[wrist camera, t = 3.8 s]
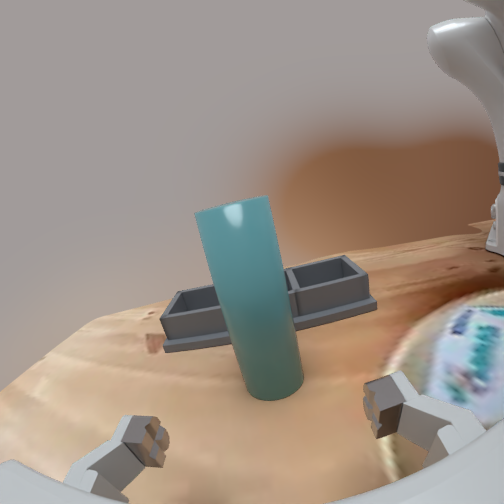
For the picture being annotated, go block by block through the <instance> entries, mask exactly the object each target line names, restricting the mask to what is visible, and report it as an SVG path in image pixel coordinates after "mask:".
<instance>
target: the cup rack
mask: <svg viewBox="0 0 504 504" xmlns="http://www.w3.org/2000/svg"><path fill="white" fill-rule="evenodd" d="M284 274H285V279H286V284H287V289H288V294H289V299H290V304H291V309H292V314H293V320H294V325H295V330H296V331H297V330H302V329H306V328H310V327H314V326H318V325H322V324H326V323H330V322H334V321H338V320H341V319H345V318H349V317H352V316H356V315H359V314H363V313H366V312H369V311H373V310H376V309H377V301H376V300H375V299H374V298H373V297H372V296H371V295H370V294H369V280H368V274H367V273H366V272H365V271H363V270H362V269H361V268H360V267H359V266H357V265H356V264H355V263H354V262H352V261H351V260H350V259H349V258H348V257H346V256H345V255H342V256H338V257H334V258H330V259H326V260H321V261H317V262H313V263H308V264H304V265H300V266H295V267H291V268H286V269H284ZM160 321H161V324H162V326H163V329H164V331H165V334H166V336H167V338H166V340H165V342H164V344H163V348H164V350H165V353H168V352H177V351H185V350H192V349H200V348H207V347H213V346H220V345H226V344H232V343H231V339H230V336H229V333H228V330H227V327H226V324H225V320H224V317H223V314H222V311H221V307H220V304H219V301H218V297H217V294H216V290H215V287H214V284H212V285H208V286H203V287H197V288H192V289H187V290H182V291H178V292H177V293H176V295H175V296H174V298H173V299H172V301H171V302H170V304H169V305H168V307H167V308H166V310H165V311H164V313H163V314H162V316H161V317H160Z"/></svg>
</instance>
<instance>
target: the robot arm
mask: <svg viewBox="0 0 504 504" xmlns="http://www.w3.org/2000/svg"><path fill="white" fill-rule="evenodd" d="M464 1H466V2H468V3H470V4H473V5H475V6H478V7H480V8H483V9H484V10H485V16H484V17H474V18H459V19H450V20H447V21H444V22H441V23H438V24H436V25H433V26H431V27H430V29H429V31H428V35H427V44H428V49H429V51H430V54H431V56H432V58H433V60H434V61H435V63H436V64H437V65H438V67H439V68H440V69H441V70H442V71H443V72H444V73H446V74H447V75H448V76H450V77H452V78H454V79H456V80H457V81H459V82H461V83H462V84H463V85H465V86H466V87H467V88H468V89H469V90H471V91H472V92H473V94H474V95H475V96H476V97H477V98H478V99H479V101H480V102H481V103H482V105H483V107H484V108H485V110H486V112H487V114H488V116H489V119H490V122H491V125H492V128H493V131H494V135H495V139H496V143H497V148H498V153H499V160H500V162H499V163H498V167H499V171H498V173H499V179H500V184H501V191H500V194H499V195H498V196H497V199H495V204H493V206H492V207H491V217H492V218H494V219H495V218H496V221H495V222H493V225H492V227H491V230H490V233H489V236H488V239H487V242H486V247H485V248H486V249H487V250H489V251H492V252H496V253H499V254H501V255H503V256H504V0H464ZM363 391H364V393H365V396H364V398H363V406H364V411H365V414H366V417H367V419H368V420H370V421H372V422H371V429H372V431H373V433H374V435H375V438H376V439H379V438H382V437H385V436H387V435H390V434H393V433H396V432H397V433H398V434H399V435H401V436H403V437H404V438H406V439H408V440H409V441H411V442H413V443H415V444H416V445H418V446H420V447H422V448H423V449H425V450H427V451H429V452H428V455H427V457H426V459H425V461H424V463H423V465H422V466H423V468H424V469H422V470H420V471H418V472H416V473H414V474H411V475H409V476H407V477H405V478H402V479H400V480H398V481H395V482H393V483H390V484H387V485H385V486H382V487H379V488H377V489H374V490H371V491H368V492H365V493H362V494H358V495H355V496H352V497H348V498H344V499H341V500H337V501H333V502H329V503H324V504H504V418H503V419H502V420H500V421H499V422H498V423H497V424H495V425H494V426H493V427H491V428H490V429H489V430H487V431H486V430H485V429H484V427H483V426H482V425H481V423H480V422H479V421H478V419H477V418H476V417H475V415H474V414H473V413H472V411H471V410H468V409H464V408H461V407H458V406H455V405H452V404H449V403H446V402H443V401H440V400H437V399H434V398H431V397H429V396H426V395H420V396H419V394H418V393H417V392H416V390H415V389H414V387H413V386H412V384H411V383H410V382H409V380H408V379H407V377H406V376H405V375H404V373H403V372H402V371H397V372H395V373H392V374H389V375H387V376H384V377H381V378H378V379H376V380H373V381H370V382H367V383H364V386H363ZM169 443H170V442H169V435H168V432H167V431H166V429H165V428H163V427H162V426H160V421H159V419H158V418H157V417H154V416H135V415H134V416H133V415H124V416H123V417H122V418H121V420H120V422H119V424H118V426H117V428H116V430H115V432H114V434H113V437H112V439H111V441H109V440H108V441H106V442H105V443H103V444H102V445H100V446H99V447H97V448H96V449H94V450H93V451H91V452H90V453H88V454H87V455H85V456H84V457H82V458H81V459H79V460H78V461H76V462H74V463H73V464H72V466H71V468H70V470H69V472H68V473H67V475H66V477H65V479H64V481H63V483H62V482H60V481H57V480H55V479H53V478H51V477H48V476H46V475H44V474H42V473H40V472H38V471H36V470H34V469H32V468H30V467H28V466H26V465H24V464H22V463H20V462H19V461H17V460H9V461H6V462H3V463H1V464H0V504H129V499H128V498H127V497H126V496H125V495H123V494H122V493H121V491H122V490H123V489H124V488H125V487H126V486H127V485H129V484H130V483H131V482H132V481H133V480H134V479H135V478H136V477H137V476H138V475H139V474H140V473H141V472H142V471H143V470H144V469H145V467H158V468H163V465H164V461H165V458H166V455H165V453H164V452H165V451H166V450H167V449H168V447H169Z"/></svg>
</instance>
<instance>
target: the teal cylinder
mask: <svg viewBox="0 0 504 504" xmlns="http://www.w3.org/2000/svg"><path fill="white" fill-rule="evenodd" d="M195 217H196V221H197V225H198V229H199V233H200V237H201V241H202V244H203V248H204V252H205V255H206V259H207V262H208V266H209V270H210V273H211V276H212V280H213V284H214V287H215V290H216V294H217V297H218V301H219V304H220V307H221V311H222V314H223V317H224V320H225V324H226V327H227V330H228V333H229V336H230V339H231V343H232V346H233V349H234V352H235V355H236V358H237V361H238V364H239V367H240V370H241V373H242V376H243V379H244V382H245V385H246V388H247V390H248V392H249V393H250V394H251V395H252V396H253V397H255V398H257V399H260V400H267V401H271V400H278V399H282V398H285V397H287V396H290V395H291V394H293V393H294V392H296V391H297V390H298V389H299V388H300V386H301V385H302V383H303V380H304V375H303V369H302V363H301V358H300V352H299V346H298V341H297V336H296V330H295V325H294V320H293V314H292V309H291V304H290V299H289V294H288V289H287V284H286V279H285V274H284V269H283V264H282V259H281V255H280V250H279V245H278V240H277V236H276V231H275V226H274V222H273V218H272V213H271V208H270V204H269V199H268V196H267V195H266V196H259V197H253V198H249V199H244V200H239V201H235V202H231V203H226V204H223V205H219V206H215V207H212V208H208V209H205V210H202V211H199V212H196V213H195Z"/></svg>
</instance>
